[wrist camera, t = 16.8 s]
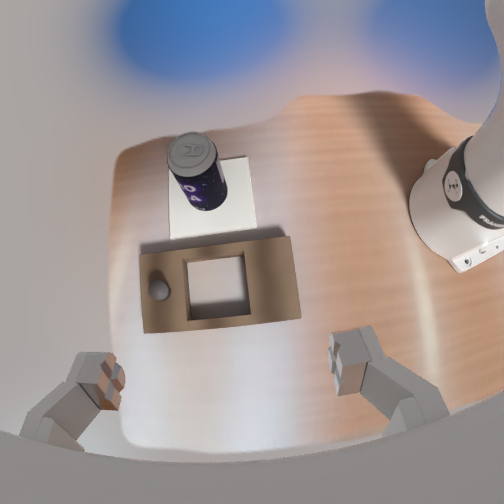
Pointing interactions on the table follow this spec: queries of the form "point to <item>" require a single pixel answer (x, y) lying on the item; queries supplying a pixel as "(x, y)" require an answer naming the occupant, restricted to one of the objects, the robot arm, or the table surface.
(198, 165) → the beverage can
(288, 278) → the base
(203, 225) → the pad
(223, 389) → the table surface
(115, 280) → the table surface
